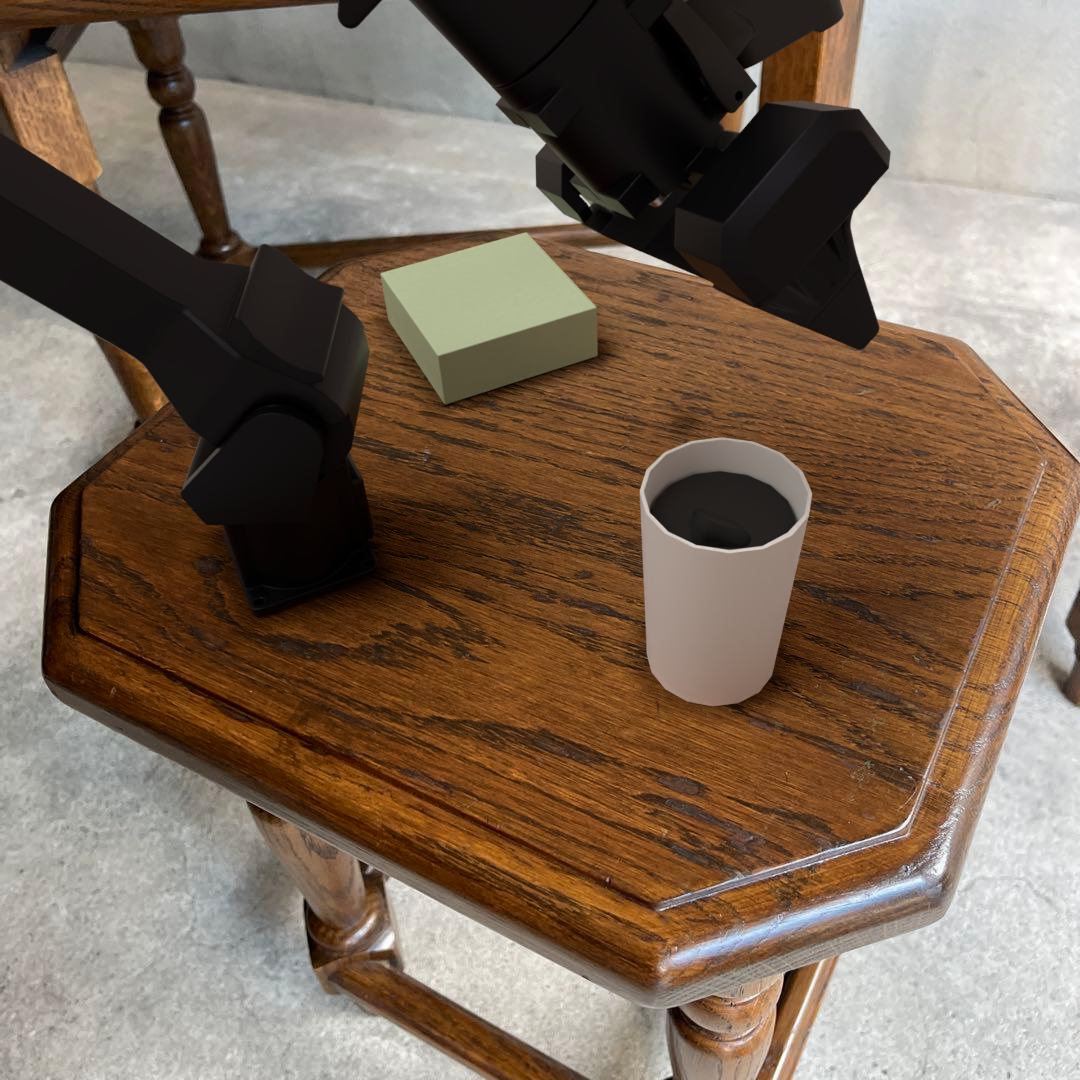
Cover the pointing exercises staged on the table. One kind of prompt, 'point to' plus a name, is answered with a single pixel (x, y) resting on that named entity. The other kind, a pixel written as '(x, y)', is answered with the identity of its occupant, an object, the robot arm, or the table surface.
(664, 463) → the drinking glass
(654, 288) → the table surface
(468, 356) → the riser block
